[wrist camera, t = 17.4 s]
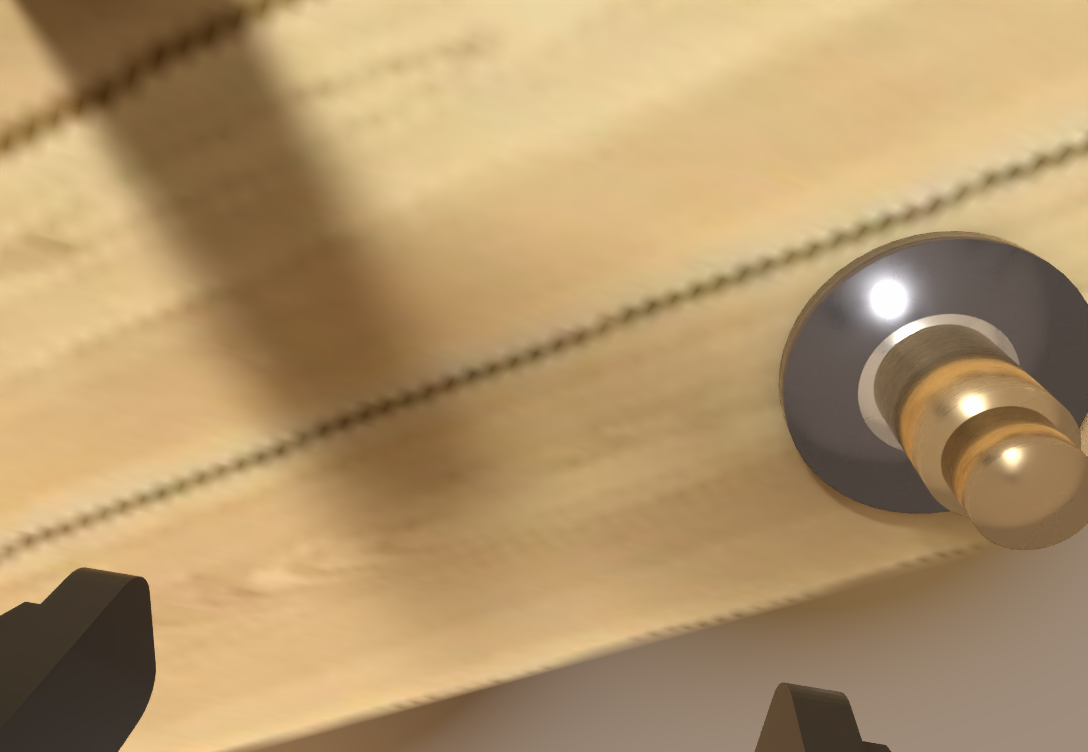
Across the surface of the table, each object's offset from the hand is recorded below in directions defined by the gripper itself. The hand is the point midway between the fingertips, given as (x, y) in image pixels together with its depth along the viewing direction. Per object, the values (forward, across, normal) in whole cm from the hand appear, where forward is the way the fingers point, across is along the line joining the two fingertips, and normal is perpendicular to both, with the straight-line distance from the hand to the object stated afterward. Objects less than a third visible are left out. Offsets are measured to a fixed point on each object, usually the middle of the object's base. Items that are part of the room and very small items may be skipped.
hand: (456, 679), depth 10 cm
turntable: (+30, +18, -6) cm, 36 cm away
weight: (+29, +18, -6) cm, 34 cm away
